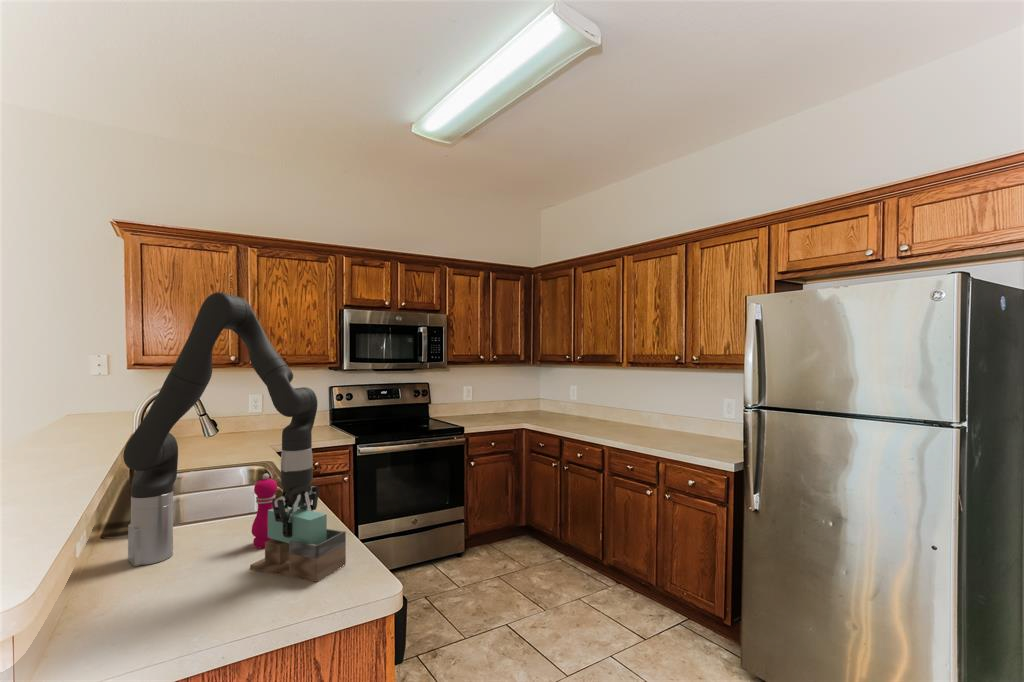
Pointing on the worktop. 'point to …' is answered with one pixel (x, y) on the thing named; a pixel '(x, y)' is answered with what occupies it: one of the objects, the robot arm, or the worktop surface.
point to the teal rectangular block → (300, 527)
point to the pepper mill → (263, 509)
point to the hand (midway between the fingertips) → (296, 532)
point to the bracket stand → (304, 557)
